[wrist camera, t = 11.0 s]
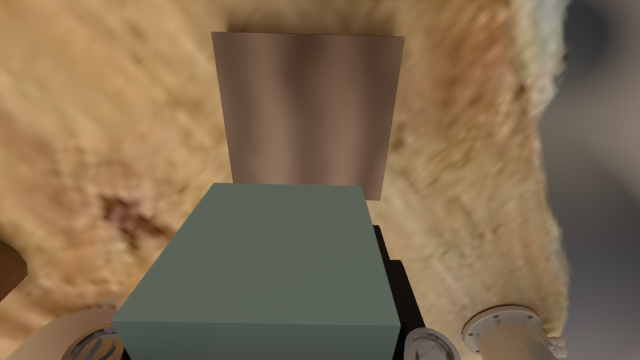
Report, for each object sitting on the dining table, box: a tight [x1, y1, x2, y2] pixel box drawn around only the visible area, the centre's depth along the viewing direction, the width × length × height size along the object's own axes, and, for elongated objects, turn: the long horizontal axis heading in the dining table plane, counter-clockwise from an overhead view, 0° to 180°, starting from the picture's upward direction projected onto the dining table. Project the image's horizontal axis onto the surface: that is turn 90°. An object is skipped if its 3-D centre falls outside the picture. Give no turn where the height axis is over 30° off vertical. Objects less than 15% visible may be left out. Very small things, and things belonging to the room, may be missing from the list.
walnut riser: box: [211, 32, 404, 201], centre depth 28 cm, size 16×16×4 cm
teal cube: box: [111, 183, 401, 360], centre depth 9 cm, size 6×6×6 cm
